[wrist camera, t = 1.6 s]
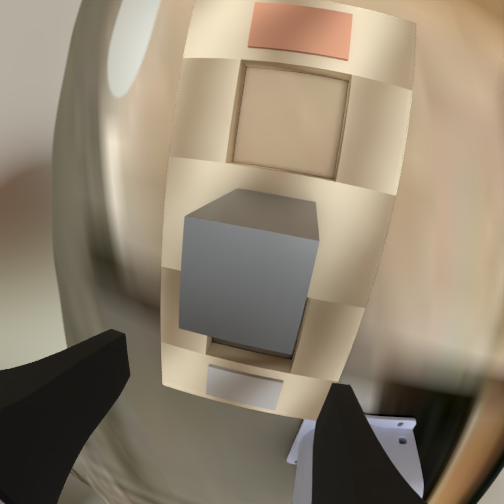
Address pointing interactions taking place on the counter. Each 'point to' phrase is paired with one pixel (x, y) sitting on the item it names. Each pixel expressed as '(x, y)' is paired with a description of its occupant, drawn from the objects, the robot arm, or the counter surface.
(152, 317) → the counter surface
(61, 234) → the counter surface
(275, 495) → the counter surface
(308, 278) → the plug
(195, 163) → the socket board
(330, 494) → the robot arm
